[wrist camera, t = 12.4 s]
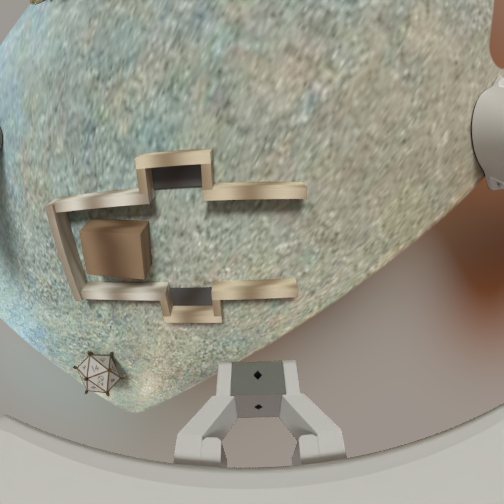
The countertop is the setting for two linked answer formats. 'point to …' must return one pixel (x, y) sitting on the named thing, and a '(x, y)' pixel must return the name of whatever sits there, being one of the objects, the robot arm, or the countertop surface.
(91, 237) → the walnut block
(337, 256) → the countertop surface
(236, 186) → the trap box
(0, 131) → the travel mug
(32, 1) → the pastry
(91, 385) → the game die
